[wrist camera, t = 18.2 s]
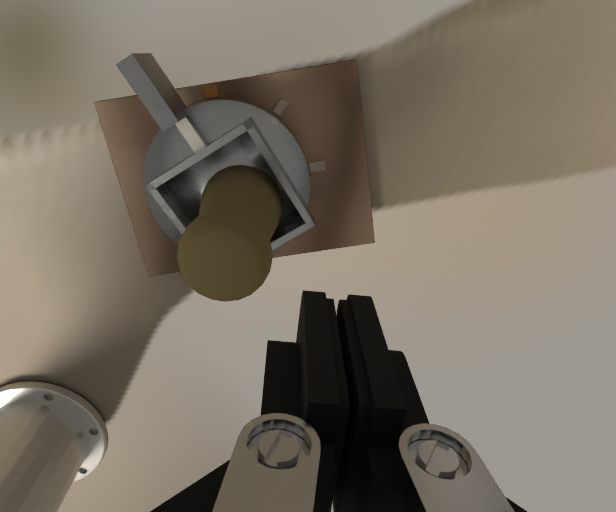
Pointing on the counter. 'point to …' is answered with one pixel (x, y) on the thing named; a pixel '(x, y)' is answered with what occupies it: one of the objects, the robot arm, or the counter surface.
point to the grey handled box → (213, 151)
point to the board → (304, 124)
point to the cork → (231, 234)
